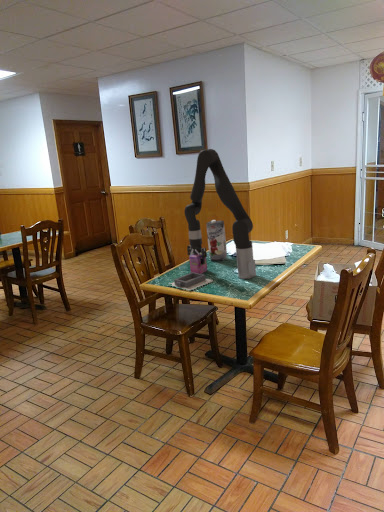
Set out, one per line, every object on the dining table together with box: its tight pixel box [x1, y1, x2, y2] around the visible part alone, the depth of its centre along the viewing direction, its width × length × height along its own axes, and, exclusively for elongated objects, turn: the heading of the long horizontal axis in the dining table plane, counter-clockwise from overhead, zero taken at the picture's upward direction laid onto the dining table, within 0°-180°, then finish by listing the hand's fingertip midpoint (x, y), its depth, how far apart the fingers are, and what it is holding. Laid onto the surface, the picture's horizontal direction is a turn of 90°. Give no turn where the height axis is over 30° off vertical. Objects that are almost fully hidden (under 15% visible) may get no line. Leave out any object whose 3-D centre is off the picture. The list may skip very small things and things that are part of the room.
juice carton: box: [205, 219, 228, 262], centre depth 259 cm, size 9×10×27 cm
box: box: [188, 253, 208, 274], centre depth 239 cm, size 10×6×12 cm, turn 146°
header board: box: [170, 272, 214, 290], centre depth 222 cm, size 18×18×4 cm
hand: (197, 263), depth 239 cm, fingers open, 8 cm apart
